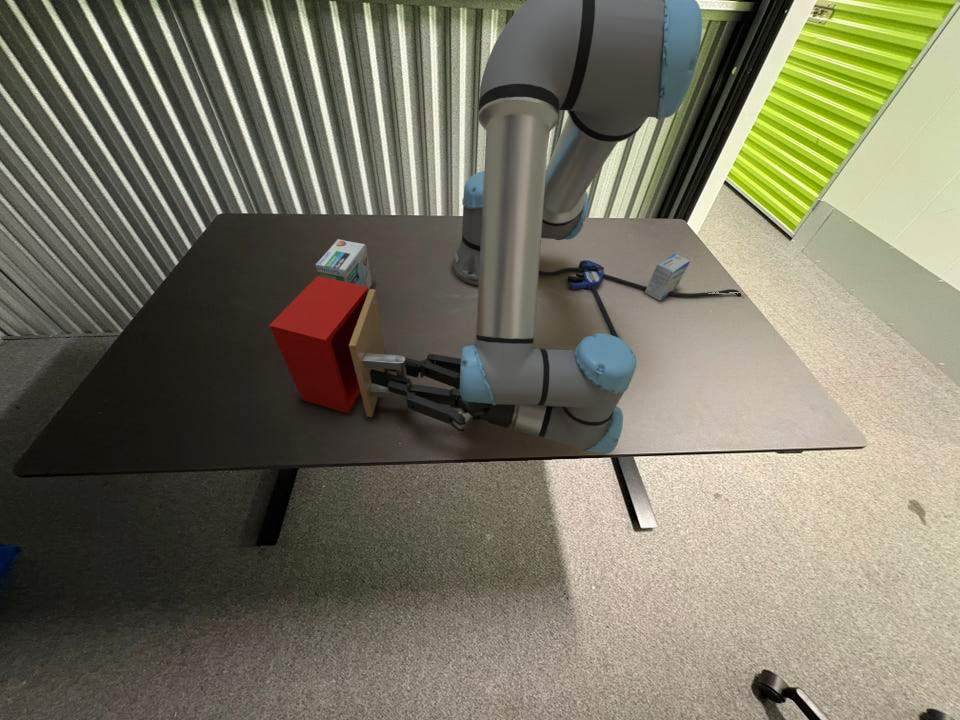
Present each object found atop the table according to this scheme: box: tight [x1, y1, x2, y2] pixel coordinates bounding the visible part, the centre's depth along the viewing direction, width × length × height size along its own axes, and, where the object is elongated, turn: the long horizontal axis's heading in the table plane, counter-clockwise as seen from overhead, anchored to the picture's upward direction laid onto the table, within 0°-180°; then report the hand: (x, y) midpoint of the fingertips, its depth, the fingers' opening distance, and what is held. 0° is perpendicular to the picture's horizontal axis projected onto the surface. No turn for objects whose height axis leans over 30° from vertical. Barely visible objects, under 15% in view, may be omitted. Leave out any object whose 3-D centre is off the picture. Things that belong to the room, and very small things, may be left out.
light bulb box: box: [315, 238, 373, 290], centre depth 86 cm, size 11×7×11 cm, turn 168°
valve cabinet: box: [268, 275, 369, 414], centre depth 67 cm, size 9×13×18 cm
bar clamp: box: [567, 259, 619, 338], centre depth 93 cm, size 32×2×10 cm
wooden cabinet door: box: [349, 288, 408, 418], centre depth 66 cm, size 7×13×18 cm, turn 178°
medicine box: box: [644, 253, 691, 302], centre depth 96 cm, size 8×4×9 cm, turn 131°
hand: (376, 368), depth 64 cm, fingers open, 3 cm apart
